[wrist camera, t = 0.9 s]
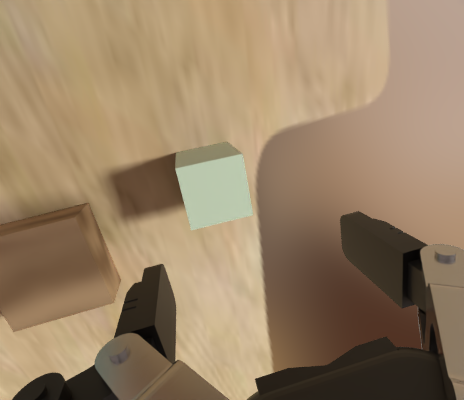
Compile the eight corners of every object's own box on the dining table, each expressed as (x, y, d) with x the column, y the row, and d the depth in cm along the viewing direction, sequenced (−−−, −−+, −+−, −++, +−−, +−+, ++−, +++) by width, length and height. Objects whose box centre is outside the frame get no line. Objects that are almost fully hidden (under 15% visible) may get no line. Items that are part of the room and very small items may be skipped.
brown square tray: (-10, 226, 26) (-41, 246, 22) (89, 201, 27) (75, 217, 23) (34, 302, 29) (13, 331, 25) (121, 278, 30) (113, 302, 26)
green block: (175, 152, 26) (175, 168, 20) (227, 141, 27) (242, 153, 20) (188, 201, 28) (191, 230, 22) (236, 189, 29) (253, 215, 22)
